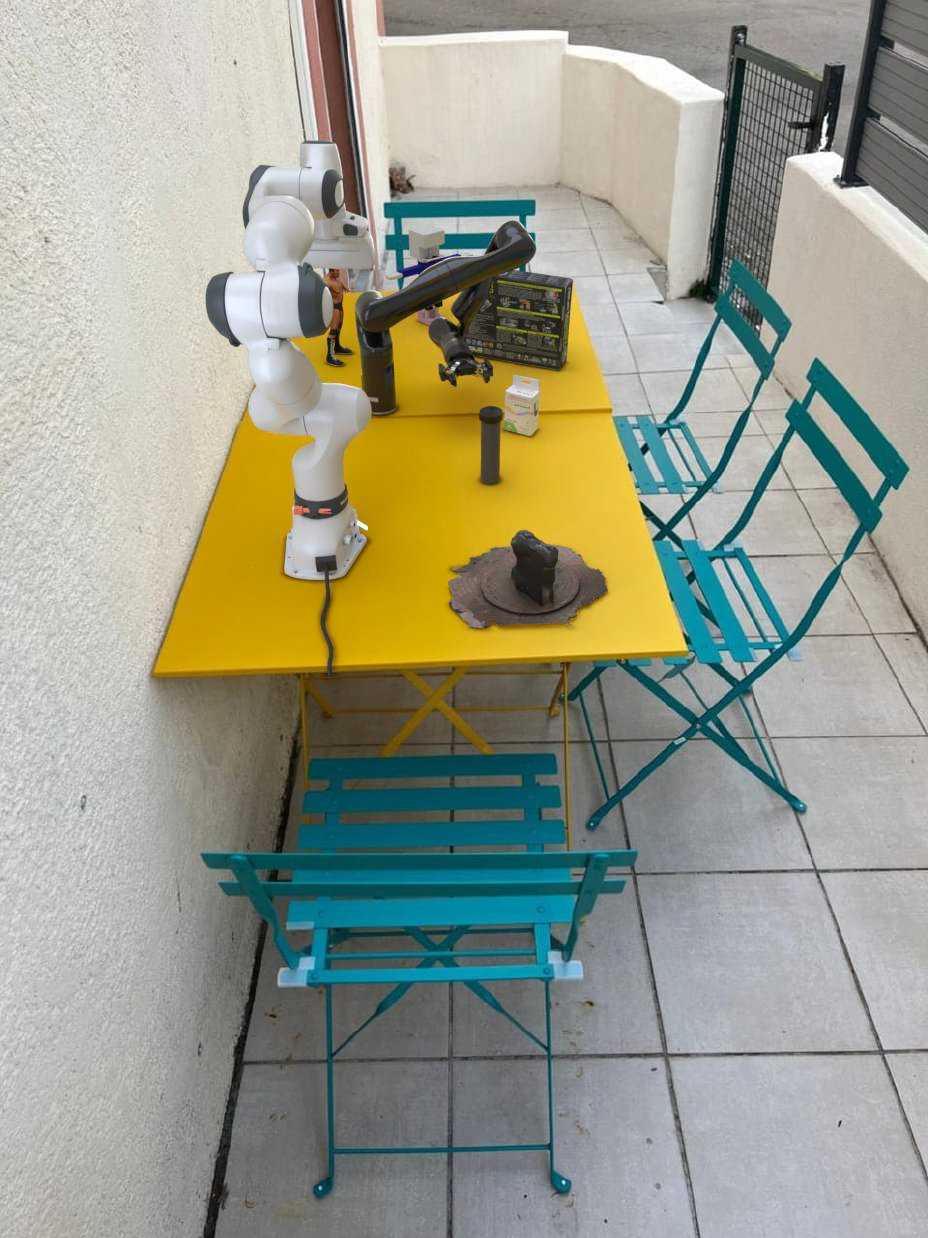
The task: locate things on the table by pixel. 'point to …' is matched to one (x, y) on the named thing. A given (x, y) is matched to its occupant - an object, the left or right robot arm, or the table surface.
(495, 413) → the lid
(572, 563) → the sculpture
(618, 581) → the table surface
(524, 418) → the ink box
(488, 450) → the dark grey cylinder
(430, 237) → the toy
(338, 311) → the figurine
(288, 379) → the left robot arm
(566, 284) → the box
